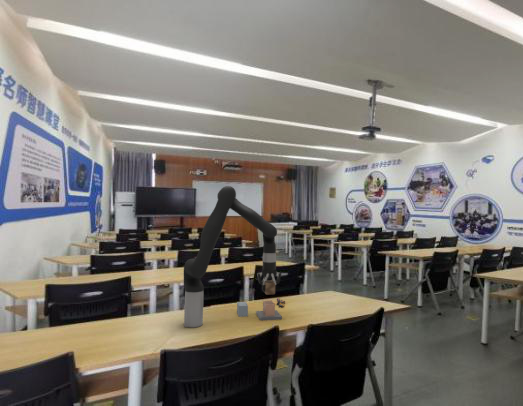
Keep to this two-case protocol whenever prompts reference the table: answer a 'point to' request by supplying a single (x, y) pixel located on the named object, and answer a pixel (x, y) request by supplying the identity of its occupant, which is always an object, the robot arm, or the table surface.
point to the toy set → (280, 303)
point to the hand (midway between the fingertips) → (268, 291)
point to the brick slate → (242, 309)
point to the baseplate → (262, 317)
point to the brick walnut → (269, 287)
